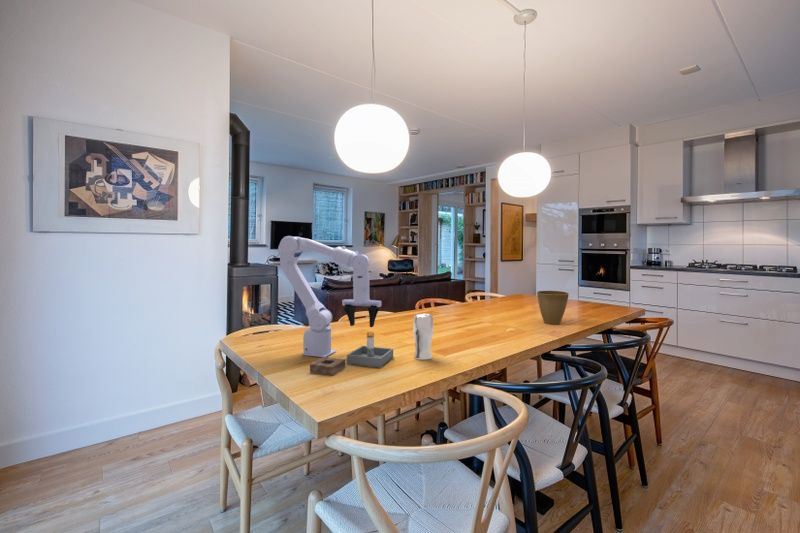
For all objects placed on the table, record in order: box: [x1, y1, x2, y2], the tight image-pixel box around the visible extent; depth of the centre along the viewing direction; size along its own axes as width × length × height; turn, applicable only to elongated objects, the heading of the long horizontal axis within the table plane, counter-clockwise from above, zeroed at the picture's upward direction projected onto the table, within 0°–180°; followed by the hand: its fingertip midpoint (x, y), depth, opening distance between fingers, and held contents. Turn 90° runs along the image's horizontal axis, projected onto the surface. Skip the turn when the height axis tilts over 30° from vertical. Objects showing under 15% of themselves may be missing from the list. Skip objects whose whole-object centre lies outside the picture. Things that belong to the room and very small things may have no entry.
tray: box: [346, 345, 394, 369], centre depth 123 cm, size 12×12×3 cm
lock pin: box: [366, 331, 375, 357], centre depth 123 cm, size 2×2×9 cm
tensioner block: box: [309, 356, 346, 376], centre depth 114 cm, size 8×8×2 cm
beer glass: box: [412, 313, 434, 361], centre depth 126 cm, size 7×7×15 cm
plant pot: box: [536, 290, 570, 326], centre depth 184 cm, size 15×15×16 cm
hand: (362, 326), depth 129 cm, fingers open, 7 cm apart
